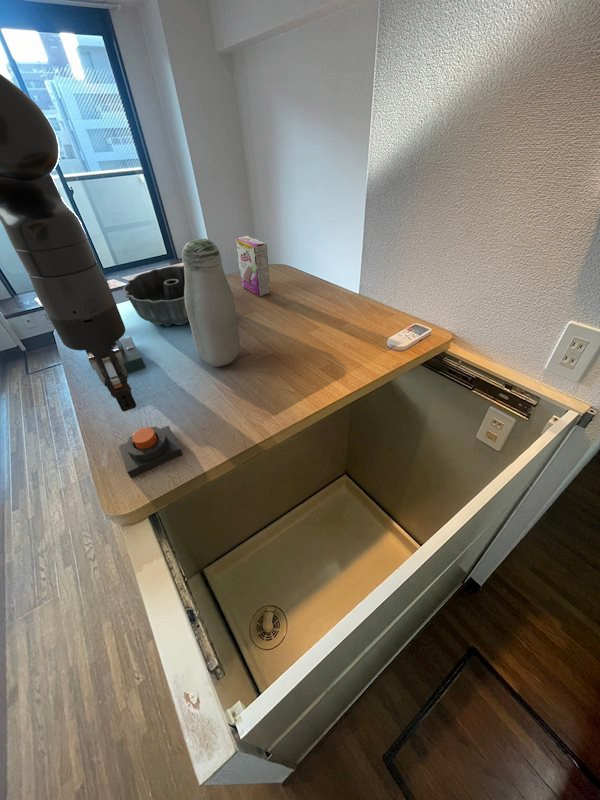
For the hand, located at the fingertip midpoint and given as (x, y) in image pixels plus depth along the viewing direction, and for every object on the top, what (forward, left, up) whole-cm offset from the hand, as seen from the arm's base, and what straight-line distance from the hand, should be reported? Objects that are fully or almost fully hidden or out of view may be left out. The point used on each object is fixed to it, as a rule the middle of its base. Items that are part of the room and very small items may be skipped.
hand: (129, 407), depth 52 cm
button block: (0, 0, -11) cm, 11 cm away
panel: (+21, +27, -11) cm, 36 cm away
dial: (+21, +27, -8) cm, 35 cm away
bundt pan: (+49, +29, -12) cm, 58 cm away
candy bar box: (+72, +14, -12) cm, 74 cm away
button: (0, 0, -8) cm, 8 cm away
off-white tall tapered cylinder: (+30, +3, -12) cm, 32 cm away
